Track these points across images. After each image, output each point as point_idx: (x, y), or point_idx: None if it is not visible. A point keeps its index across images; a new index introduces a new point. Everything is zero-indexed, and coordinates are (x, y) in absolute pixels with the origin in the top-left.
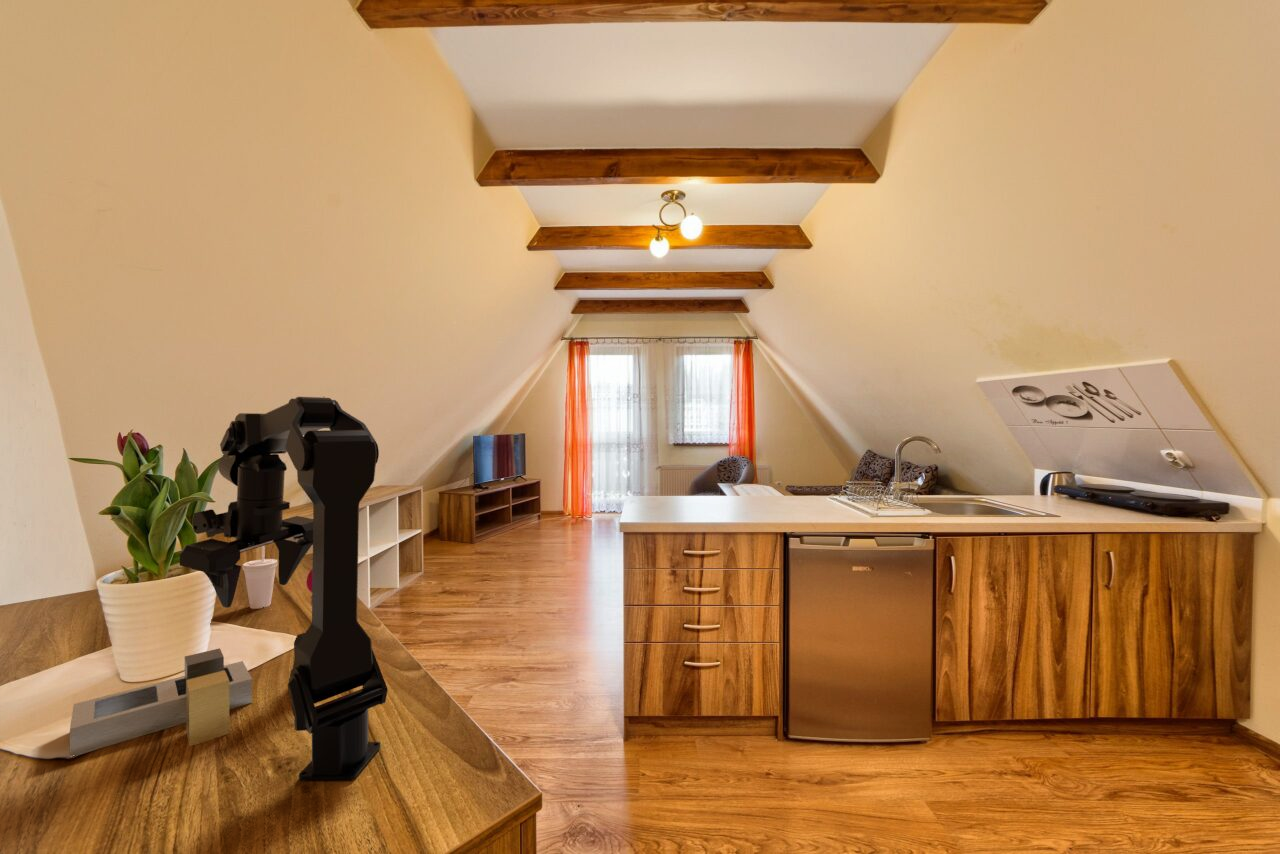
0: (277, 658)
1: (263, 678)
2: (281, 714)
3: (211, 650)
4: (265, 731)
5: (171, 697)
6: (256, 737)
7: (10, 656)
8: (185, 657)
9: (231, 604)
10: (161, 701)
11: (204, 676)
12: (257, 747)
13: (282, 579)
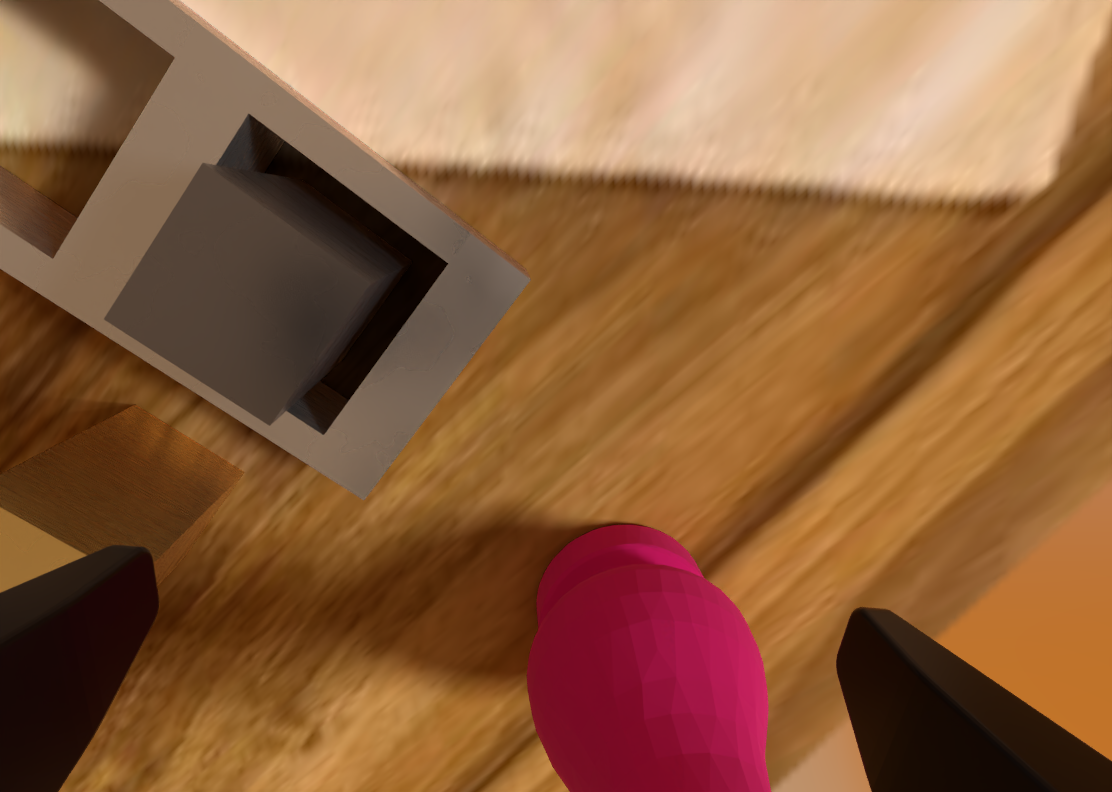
0: (792, 212)
1: (585, 324)
2: (337, 630)
3: (325, 262)
4: (229, 663)
5: (103, 285)
6: (191, 664)
7: None
8: (192, 185)
9: (137, 648)
10: (59, 273)
11: (36, 548)
12: (146, 711)
13: (871, 695)
